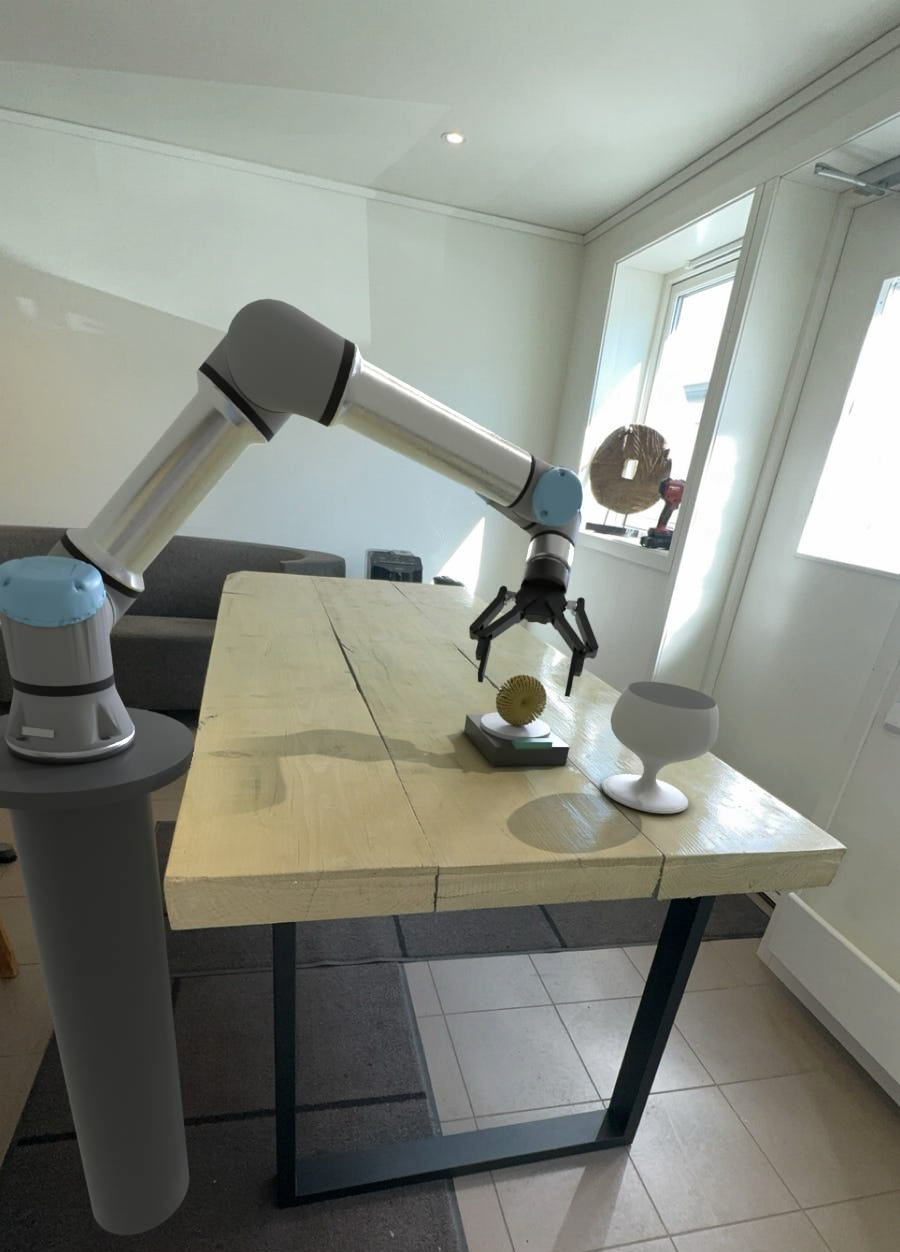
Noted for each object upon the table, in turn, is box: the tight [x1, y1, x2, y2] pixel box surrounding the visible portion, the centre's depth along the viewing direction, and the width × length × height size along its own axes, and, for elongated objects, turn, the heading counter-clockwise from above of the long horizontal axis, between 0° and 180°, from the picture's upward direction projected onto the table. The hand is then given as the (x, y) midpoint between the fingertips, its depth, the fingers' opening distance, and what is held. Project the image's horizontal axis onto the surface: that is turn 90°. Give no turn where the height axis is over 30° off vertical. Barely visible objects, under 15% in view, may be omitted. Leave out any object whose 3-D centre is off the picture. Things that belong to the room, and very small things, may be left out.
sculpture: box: [495, 674, 548, 726], centre depth 101 cm, size 8×4×8 cm, turn 102°
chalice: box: [601, 681, 720, 814], centre depth 90 cm, size 14×14×15 cm
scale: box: [463, 711, 570, 767], centre depth 104 cm, size 14×12×4 cm
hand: (523, 685), depth 101 cm, fingers open, 13 cm apart
